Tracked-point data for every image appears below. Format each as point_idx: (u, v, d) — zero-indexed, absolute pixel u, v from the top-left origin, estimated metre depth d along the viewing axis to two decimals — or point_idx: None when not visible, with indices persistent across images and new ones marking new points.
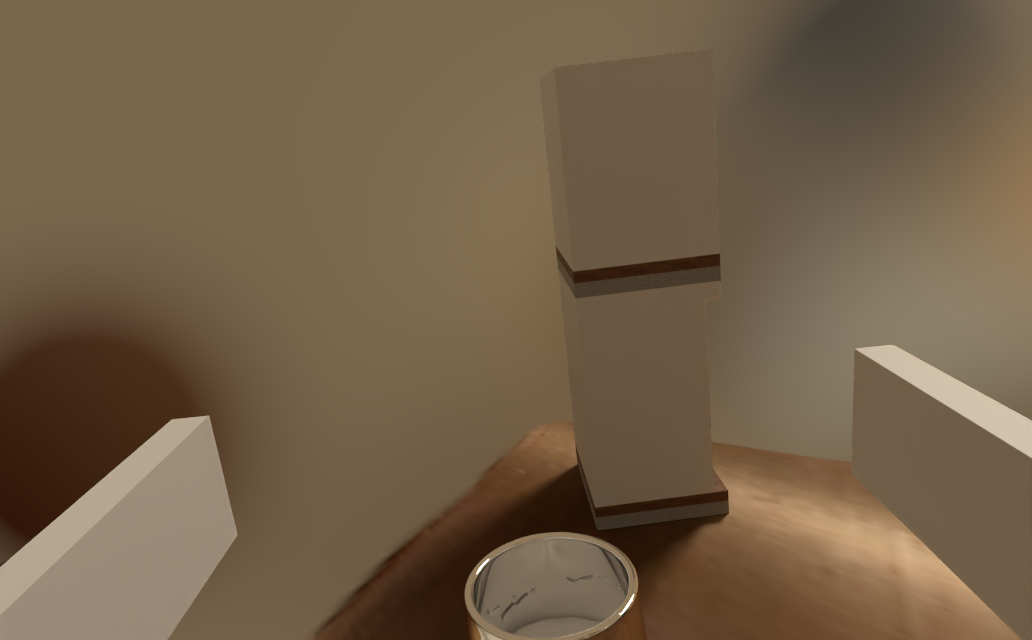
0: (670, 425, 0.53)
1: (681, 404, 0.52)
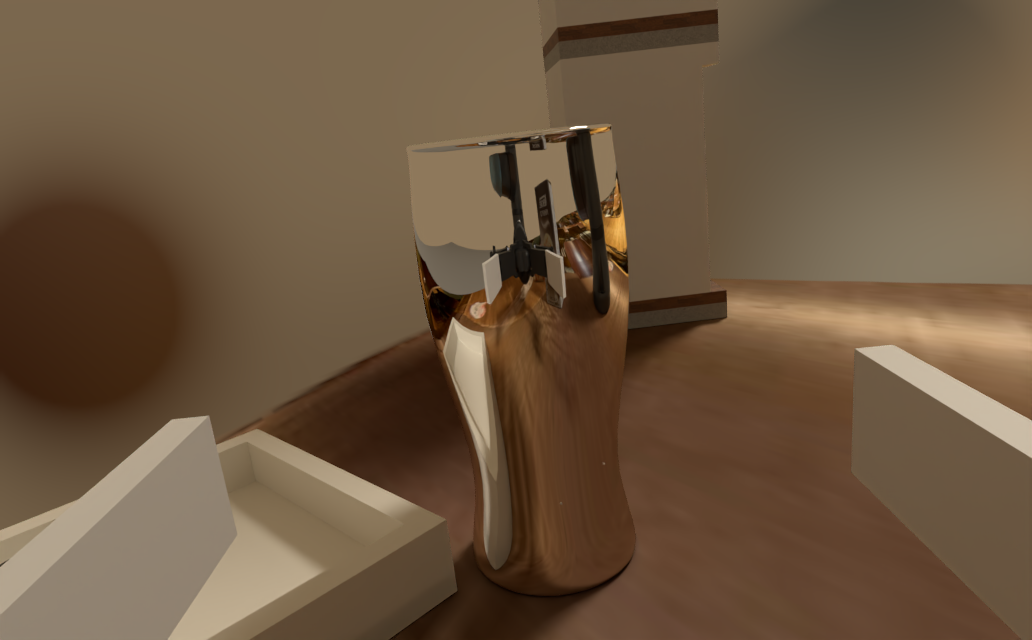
0: (663, 212, 0.49)
1: (675, 187, 0.48)
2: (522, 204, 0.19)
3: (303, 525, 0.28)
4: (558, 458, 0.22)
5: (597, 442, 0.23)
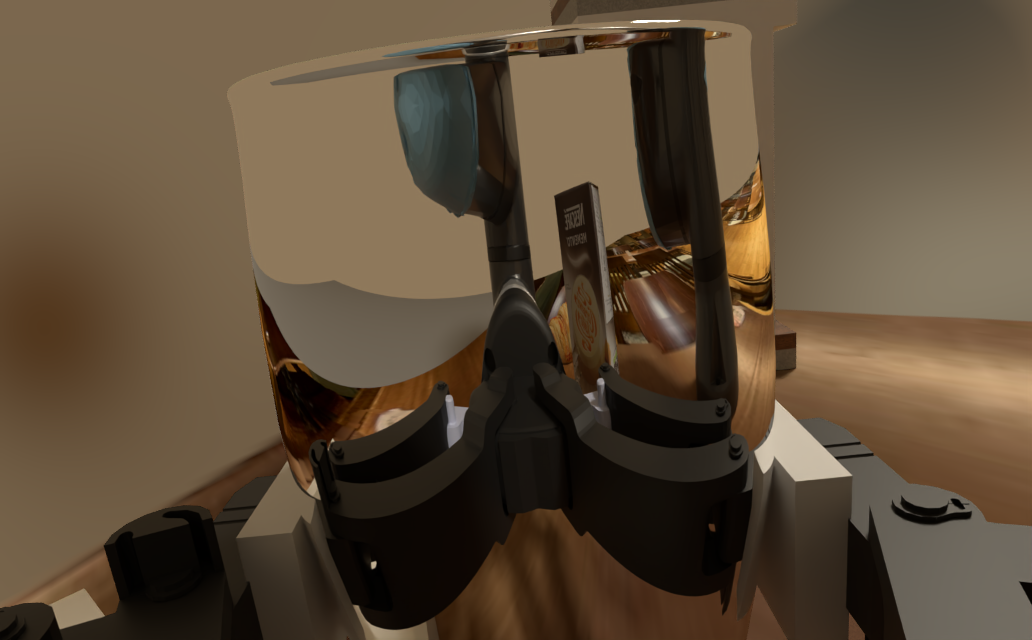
0: None
1: None
2: (521, 249, 0.06)
3: None
4: None
5: None
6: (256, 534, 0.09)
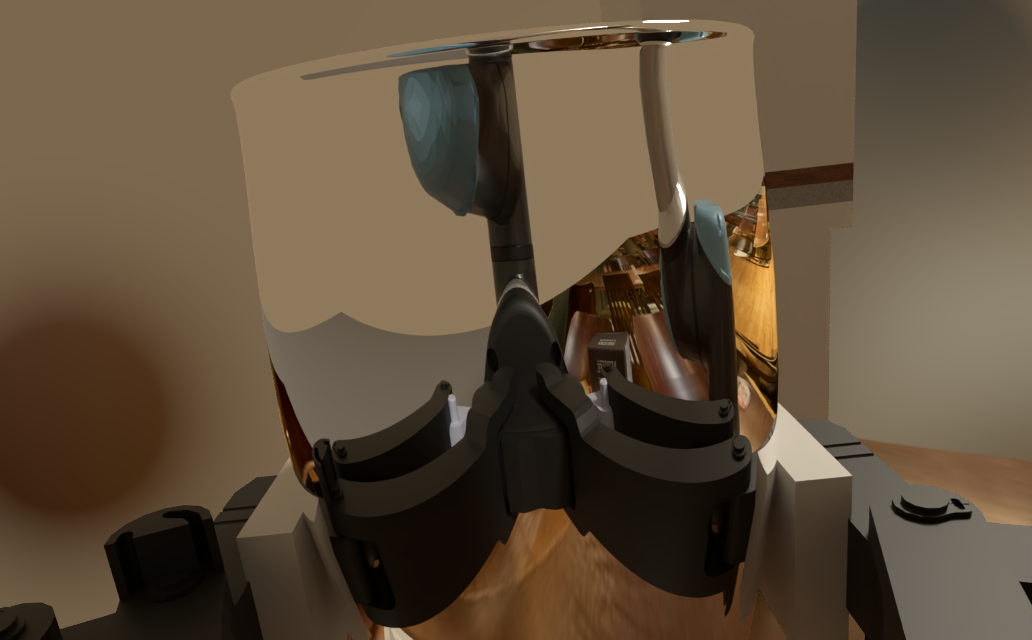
0: None
1: (790, 373, 0.39)
2: (526, 249, 0.06)
3: None
4: None
5: None
6: (256, 534, 0.09)
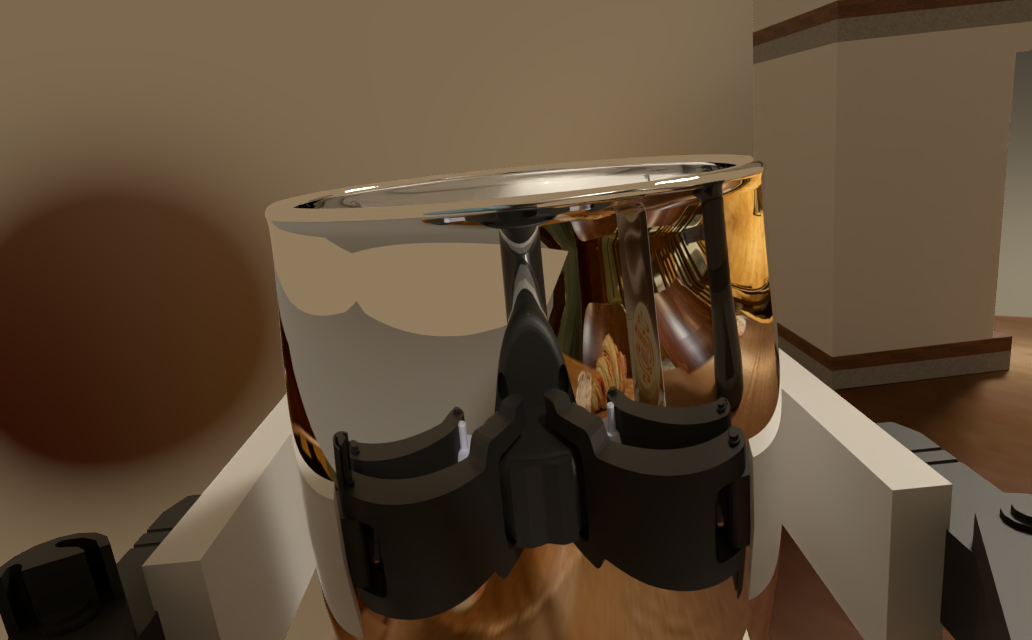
0: (946, 238, 0.38)
1: (964, 207, 0.38)
2: (552, 394, 0.07)
3: None
4: None
5: None
6: (164, 561, 0.09)
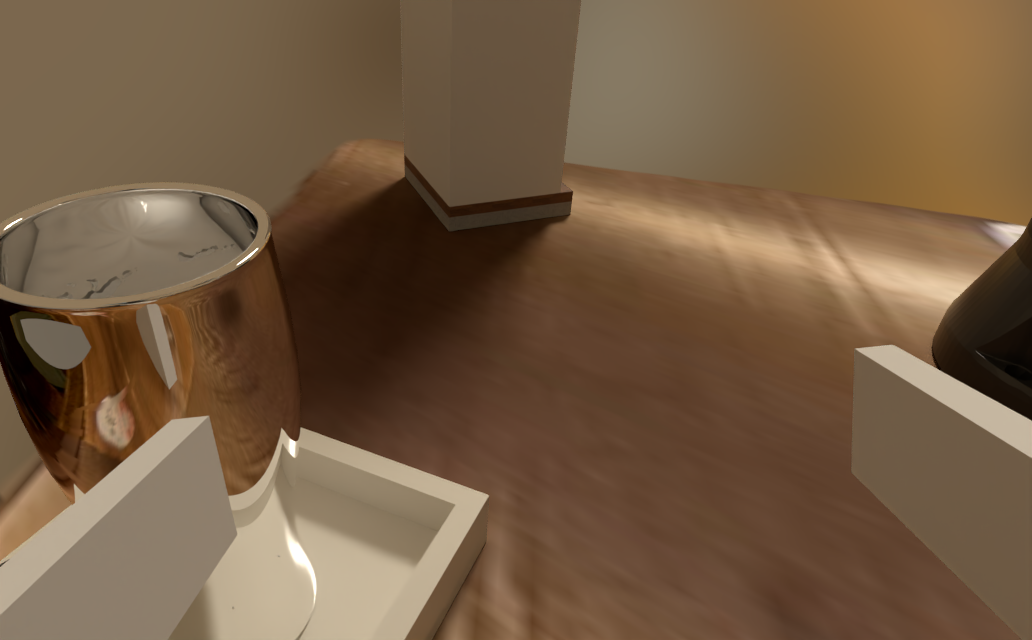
0: (531, 119, 0.51)
1: (544, 96, 0.50)
2: (153, 374, 0.15)
3: (313, 497, 0.29)
4: (226, 576, 0.21)
5: (270, 545, 0.21)
6: None
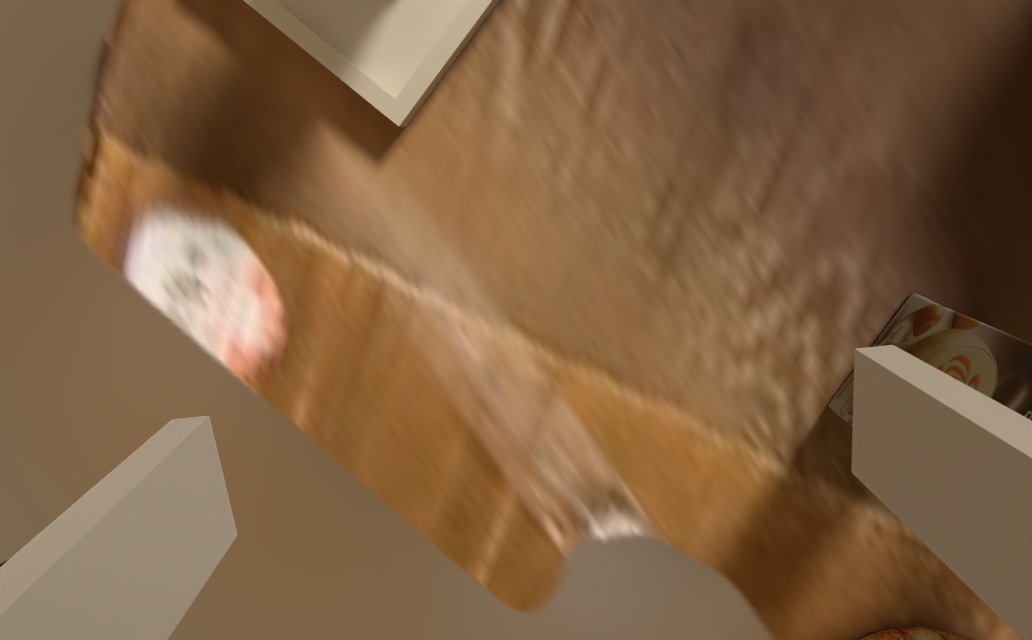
0: None
1: None
2: None
3: None
4: None
5: None
6: None
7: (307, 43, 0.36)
